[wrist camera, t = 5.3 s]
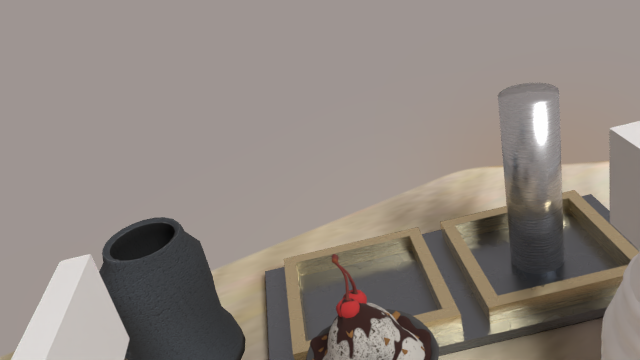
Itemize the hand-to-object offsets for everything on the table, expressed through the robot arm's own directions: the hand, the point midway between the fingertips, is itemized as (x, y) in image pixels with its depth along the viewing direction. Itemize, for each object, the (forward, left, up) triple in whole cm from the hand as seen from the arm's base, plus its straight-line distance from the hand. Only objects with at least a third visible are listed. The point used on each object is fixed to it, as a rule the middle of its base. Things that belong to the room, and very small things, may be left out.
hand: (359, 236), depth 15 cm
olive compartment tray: (+8, +26, -23) cm, 36 cm away
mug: (-15, +25, -24) cm, 38 cm away
